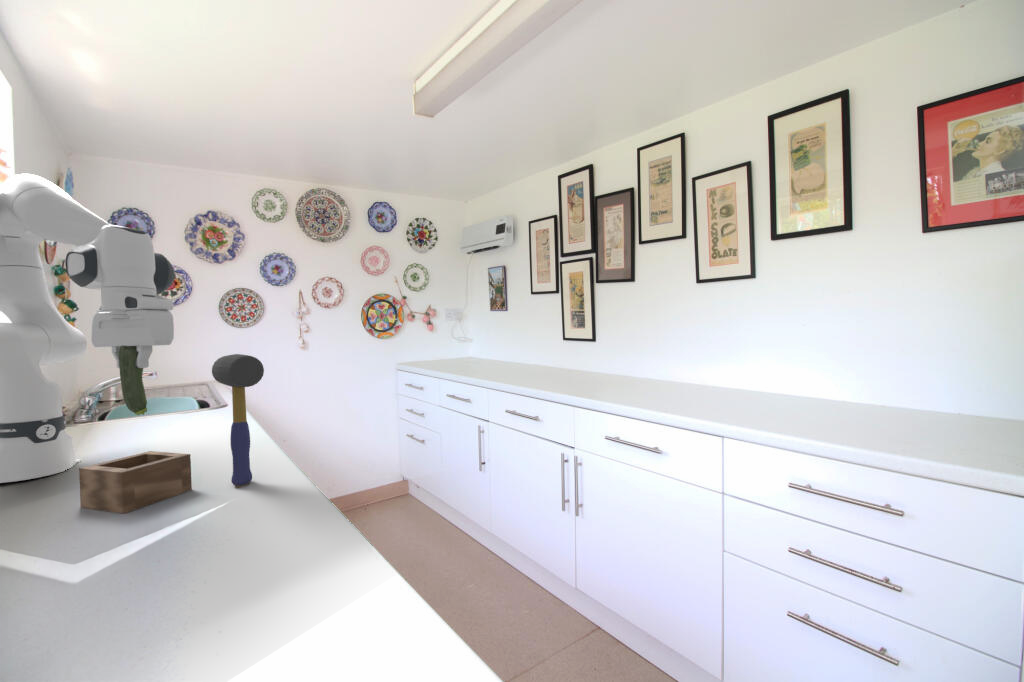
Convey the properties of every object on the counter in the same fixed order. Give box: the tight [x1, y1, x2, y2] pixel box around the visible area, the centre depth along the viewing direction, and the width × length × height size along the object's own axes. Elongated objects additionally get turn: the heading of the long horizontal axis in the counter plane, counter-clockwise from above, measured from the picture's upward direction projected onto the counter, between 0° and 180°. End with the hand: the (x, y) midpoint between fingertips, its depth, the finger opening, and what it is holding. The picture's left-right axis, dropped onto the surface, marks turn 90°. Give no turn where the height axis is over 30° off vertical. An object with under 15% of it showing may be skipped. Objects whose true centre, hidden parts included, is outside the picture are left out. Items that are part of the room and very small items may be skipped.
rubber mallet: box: [211, 353, 265, 488], centre depth 97 cm, size 12×8×30 cm, turn 51°
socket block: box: [78, 450, 193, 514], centre depth 91 cm, size 13×13×8 cm
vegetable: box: [118, 345, 148, 416], centre depth 91 cm, size 4×4×20 cm
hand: (132, 367), depth 91 cm, fingers closed on vegetable, 4 cm apart
